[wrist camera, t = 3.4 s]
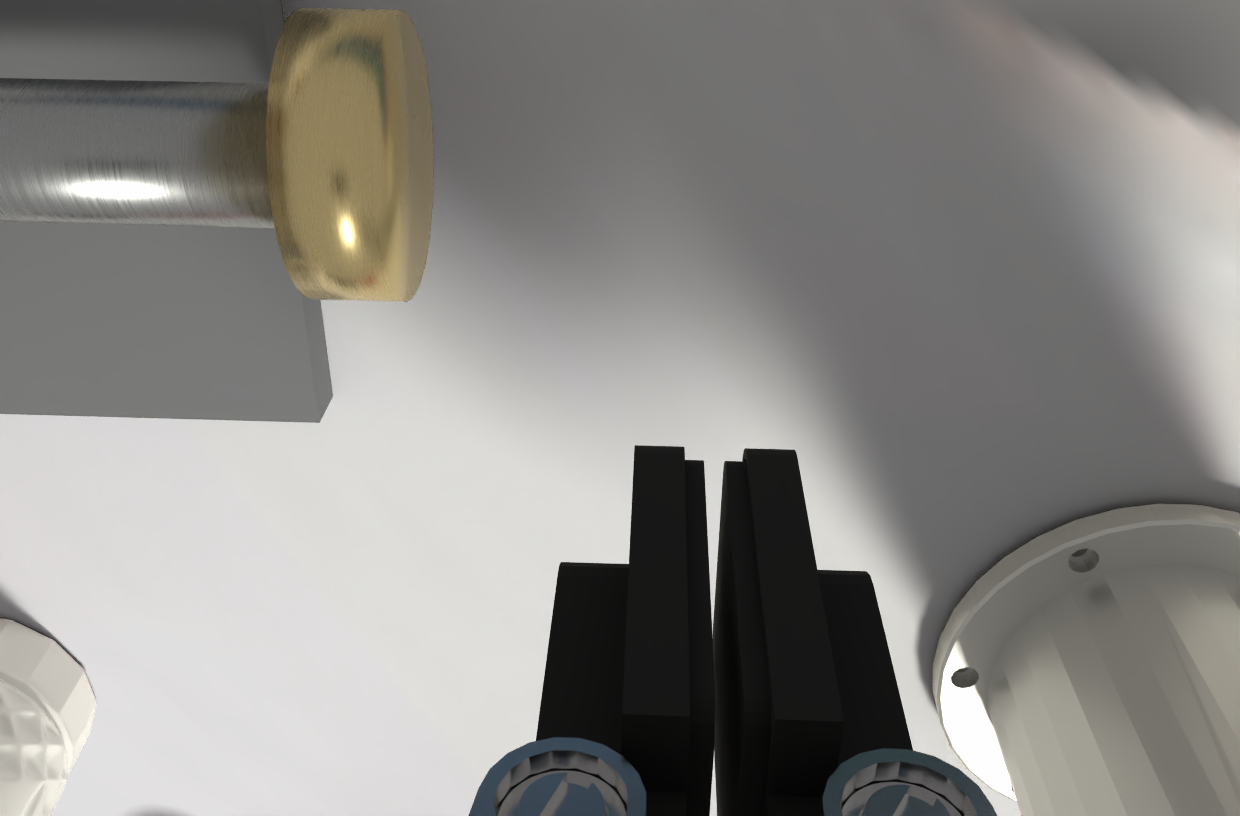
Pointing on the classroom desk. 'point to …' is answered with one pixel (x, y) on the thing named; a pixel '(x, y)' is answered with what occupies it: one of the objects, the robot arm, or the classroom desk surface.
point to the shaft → (249, 153)
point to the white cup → (39, 719)
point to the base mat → (152, 247)
